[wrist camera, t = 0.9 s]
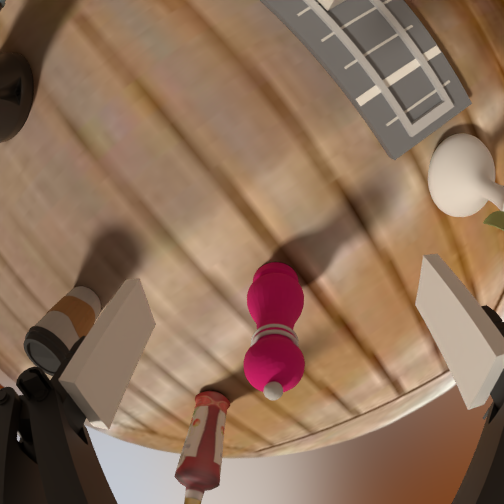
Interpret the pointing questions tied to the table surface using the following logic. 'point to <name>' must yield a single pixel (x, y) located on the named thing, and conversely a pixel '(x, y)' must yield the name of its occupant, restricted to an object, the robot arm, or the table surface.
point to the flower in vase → (465, 179)
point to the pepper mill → (274, 330)
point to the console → (380, 65)
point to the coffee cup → (62, 328)
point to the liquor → (203, 446)
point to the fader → (330, 3)
